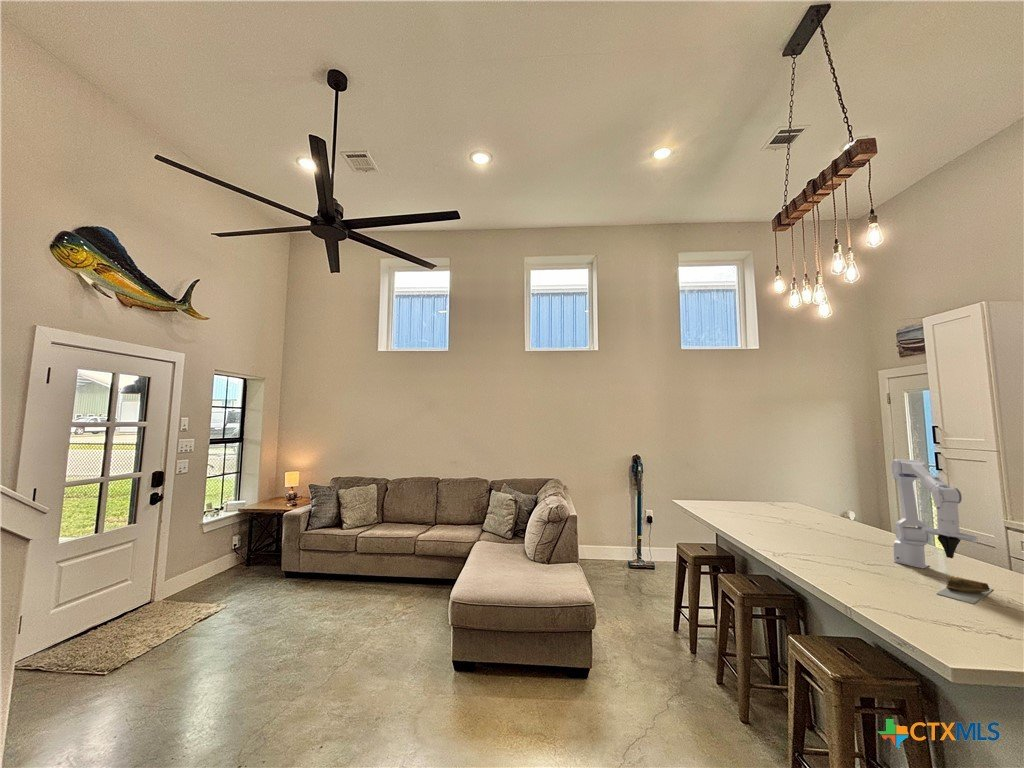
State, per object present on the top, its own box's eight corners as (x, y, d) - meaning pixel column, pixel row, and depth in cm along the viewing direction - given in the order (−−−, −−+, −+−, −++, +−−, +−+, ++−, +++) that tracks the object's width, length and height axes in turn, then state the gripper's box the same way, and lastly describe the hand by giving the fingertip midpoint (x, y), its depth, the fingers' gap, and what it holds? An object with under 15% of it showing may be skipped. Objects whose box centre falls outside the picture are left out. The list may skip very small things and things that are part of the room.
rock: (959, 573, 158) (968, 564, 152) (983, 596, 152) (993, 588, 145) (930, 584, 160) (937, 576, 153) (952, 607, 154) (960, 600, 147)
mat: (936, 594, 148) (936, 593, 148) (958, 581, 161) (958, 580, 161) (973, 604, 141) (973, 603, 141) (993, 590, 153) (993, 589, 153)
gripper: (918, 517, 162) (920, 553, 161) (972, 525, 150) (975, 565, 149) (924, 515, 166) (926, 550, 165) (978, 523, 153) (980, 561, 152)
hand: (950, 557), depth 157 cm, fingers closed
